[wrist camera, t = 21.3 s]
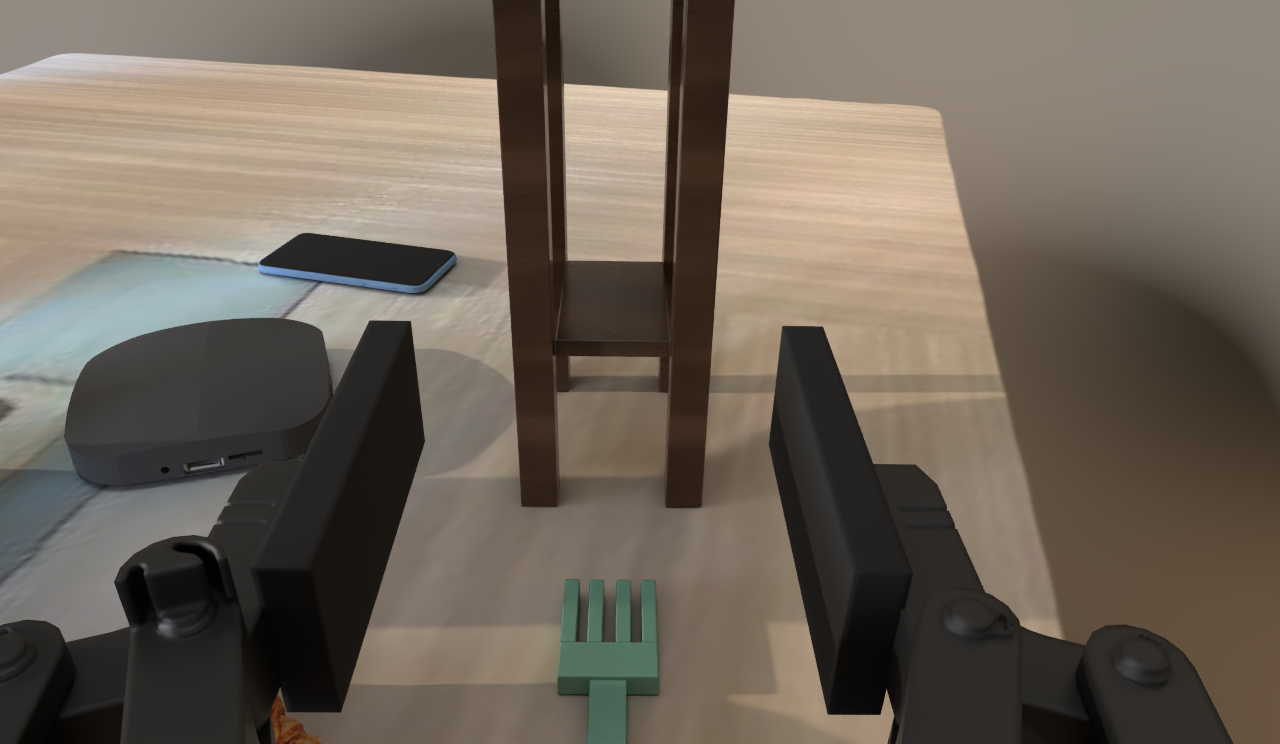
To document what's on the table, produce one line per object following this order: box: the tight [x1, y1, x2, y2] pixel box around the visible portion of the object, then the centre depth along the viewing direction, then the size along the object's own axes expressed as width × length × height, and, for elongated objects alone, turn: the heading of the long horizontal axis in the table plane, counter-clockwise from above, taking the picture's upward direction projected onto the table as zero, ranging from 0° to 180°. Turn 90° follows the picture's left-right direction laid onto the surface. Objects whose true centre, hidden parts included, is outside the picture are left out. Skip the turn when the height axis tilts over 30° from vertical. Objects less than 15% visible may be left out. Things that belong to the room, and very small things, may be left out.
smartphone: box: [258, 233, 456, 293], centre depth 79 cm, size 7×1×15 cm
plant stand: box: [492, 0, 735, 507], centre depth 51 cm, size 14×10×30 cm
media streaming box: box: [64, 318, 333, 486], centre depth 60 cm, size 15×15×3 cm
